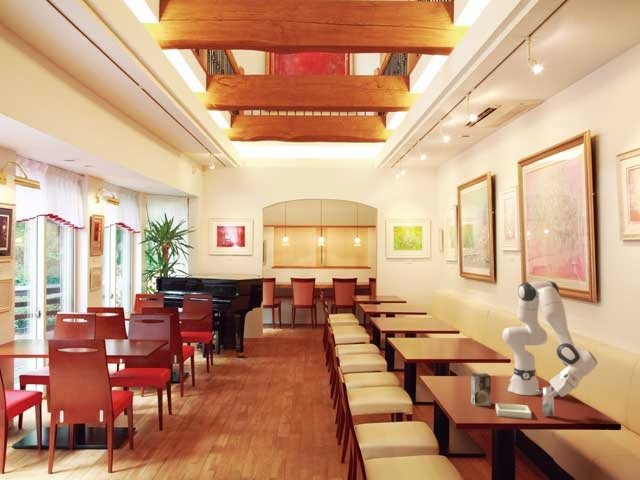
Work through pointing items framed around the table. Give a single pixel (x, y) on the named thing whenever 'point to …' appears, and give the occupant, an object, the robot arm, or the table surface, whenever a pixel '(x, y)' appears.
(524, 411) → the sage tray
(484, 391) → the coffee box
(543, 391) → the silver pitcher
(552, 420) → the table surface
